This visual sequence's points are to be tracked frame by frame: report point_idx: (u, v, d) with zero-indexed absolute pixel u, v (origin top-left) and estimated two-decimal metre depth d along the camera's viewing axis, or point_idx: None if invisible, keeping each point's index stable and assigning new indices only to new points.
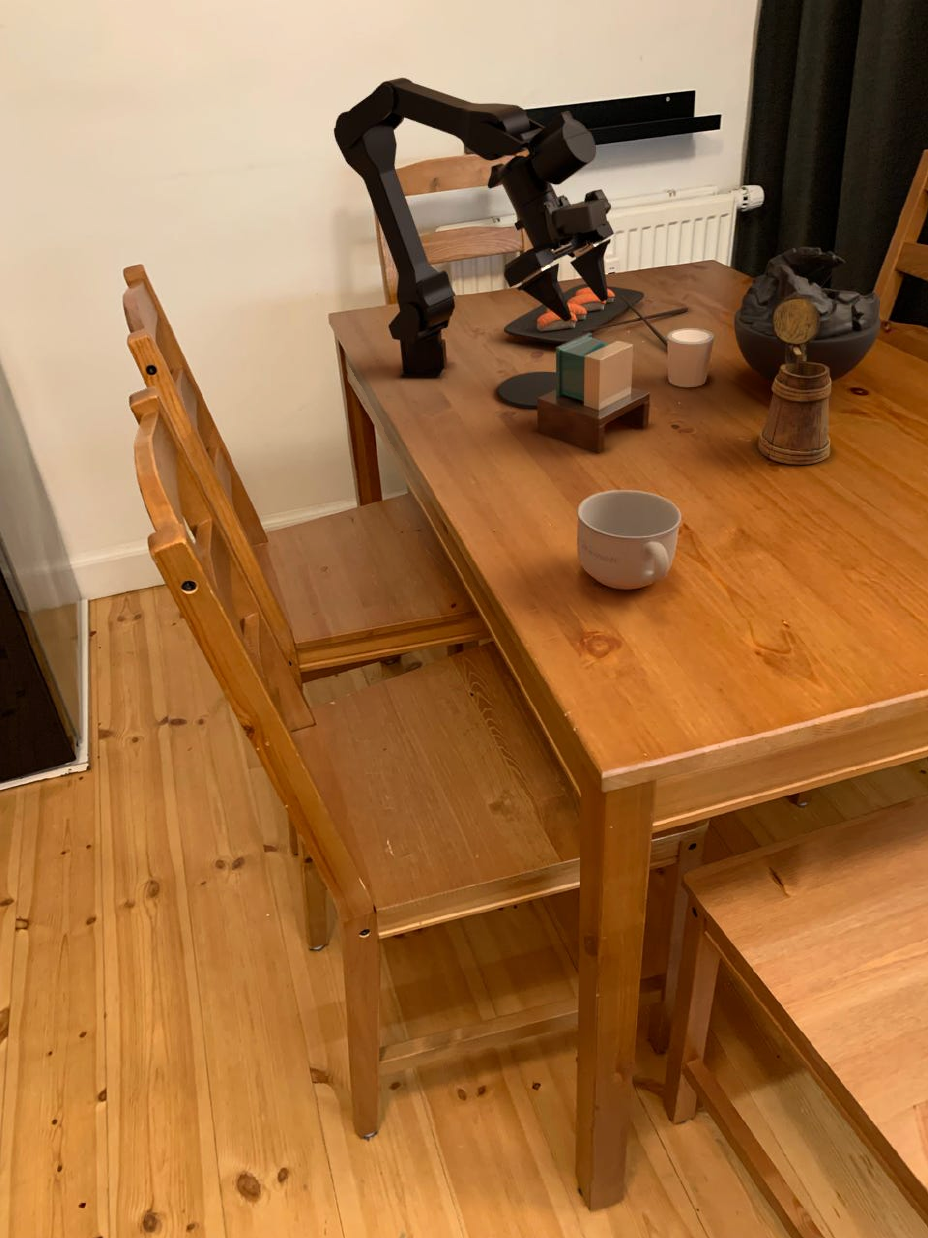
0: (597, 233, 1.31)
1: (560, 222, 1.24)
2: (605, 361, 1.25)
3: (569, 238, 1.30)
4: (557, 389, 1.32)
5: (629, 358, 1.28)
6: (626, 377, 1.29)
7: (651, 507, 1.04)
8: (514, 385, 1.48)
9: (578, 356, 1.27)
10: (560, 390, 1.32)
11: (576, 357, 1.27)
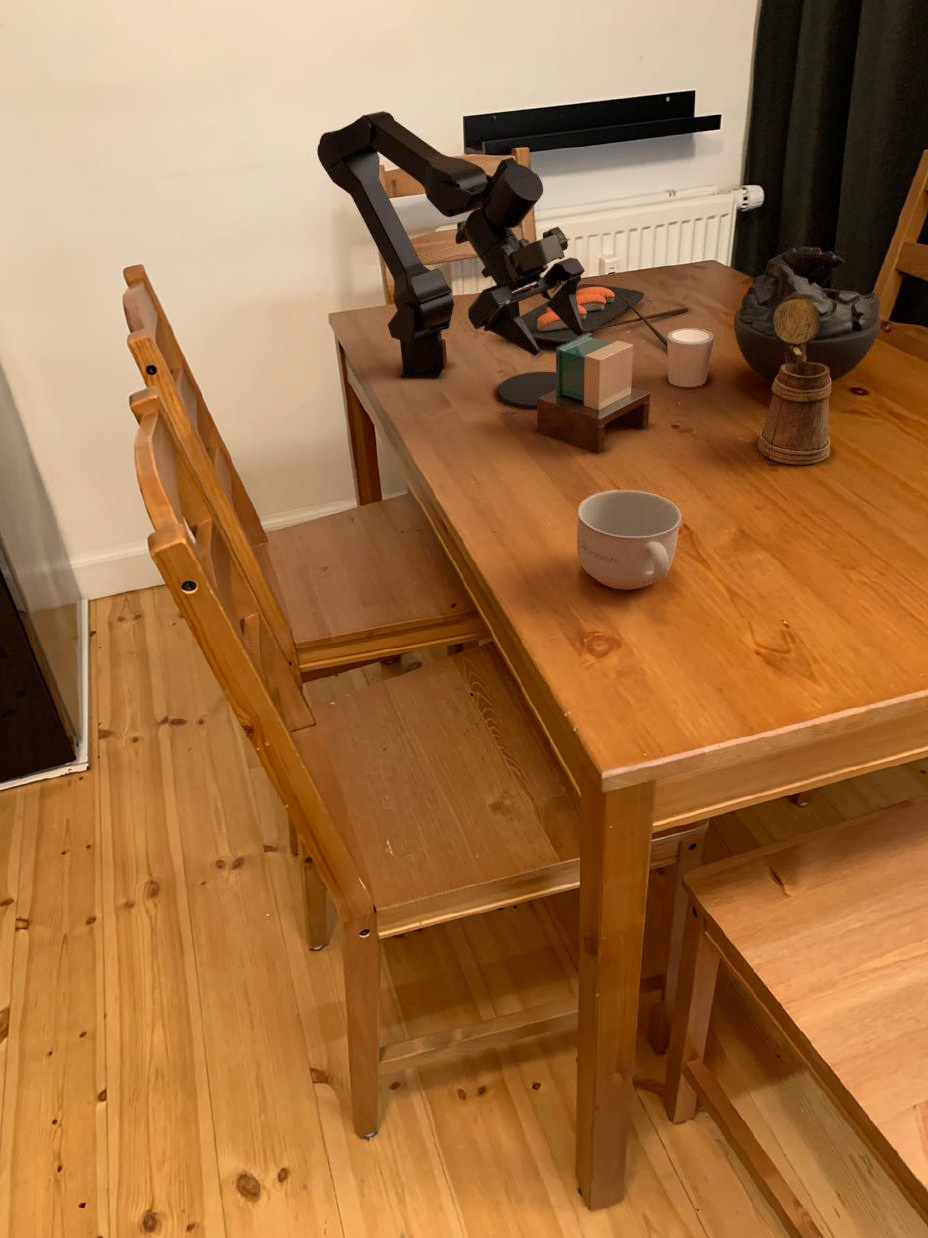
0: (564, 270, 1.33)
1: (516, 261, 1.28)
2: (605, 361, 1.25)
3: (536, 278, 1.33)
4: (557, 389, 1.32)
5: (629, 358, 1.28)
6: (626, 377, 1.29)
7: (651, 507, 1.04)
8: (514, 385, 1.48)
9: (578, 356, 1.27)
10: (560, 390, 1.32)
11: (576, 357, 1.27)
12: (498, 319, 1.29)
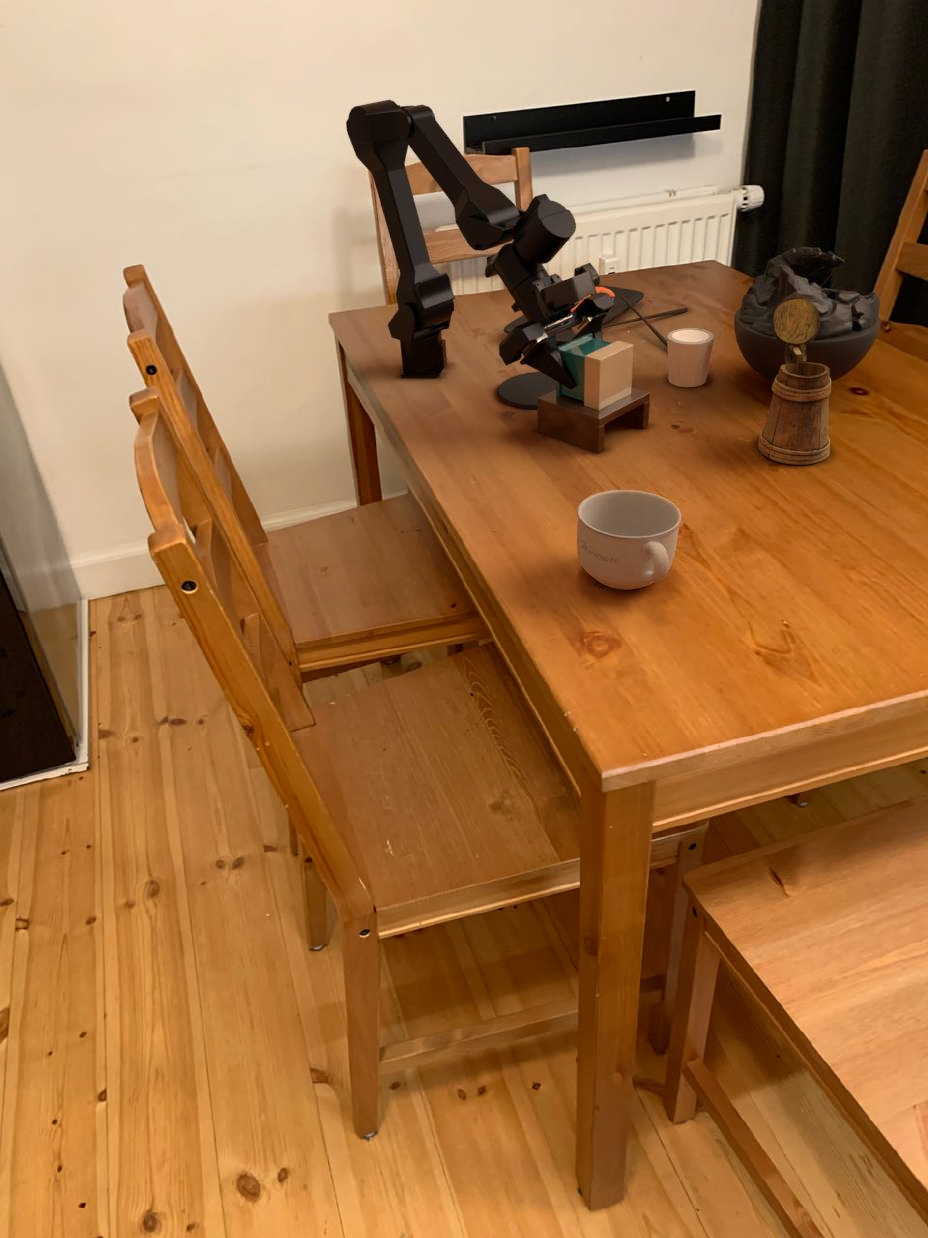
0: (595, 306, 1.32)
1: (548, 297, 1.26)
2: (605, 361, 1.25)
3: (566, 313, 1.31)
4: (557, 389, 1.32)
5: (629, 358, 1.28)
6: (627, 377, 1.29)
7: (651, 507, 1.04)
8: (514, 385, 1.48)
9: (578, 356, 1.27)
10: (560, 390, 1.32)
11: (576, 357, 1.27)
12: (535, 353, 1.28)
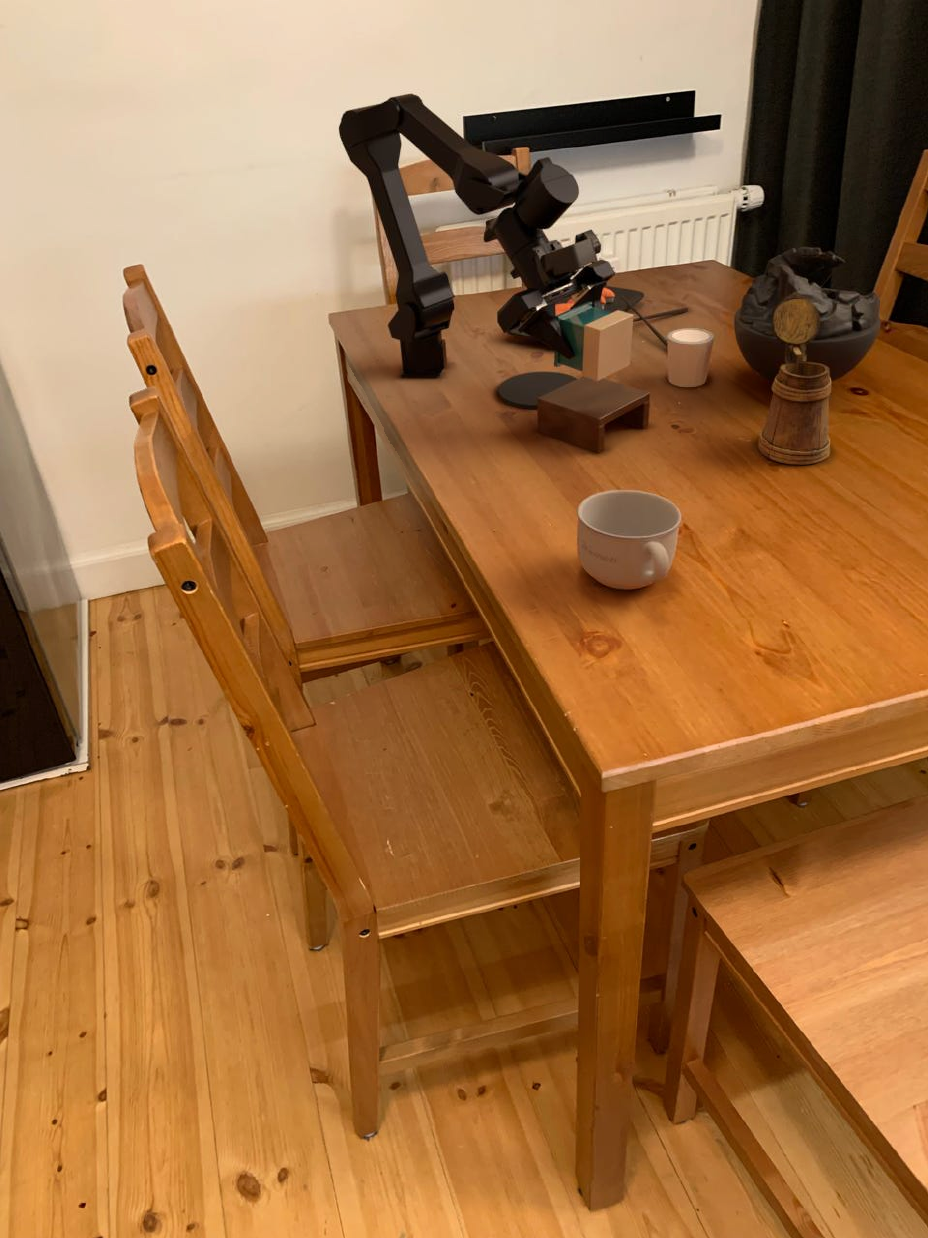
0: (595, 274, 1.30)
1: (548, 265, 1.24)
2: (605, 331, 1.23)
3: (566, 281, 1.29)
4: (555, 358, 1.30)
5: (629, 328, 1.26)
6: (626, 347, 1.28)
7: (651, 507, 1.04)
8: (514, 385, 1.48)
9: (578, 325, 1.25)
10: (558, 359, 1.30)
11: (575, 326, 1.25)
12: (533, 321, 1.26)
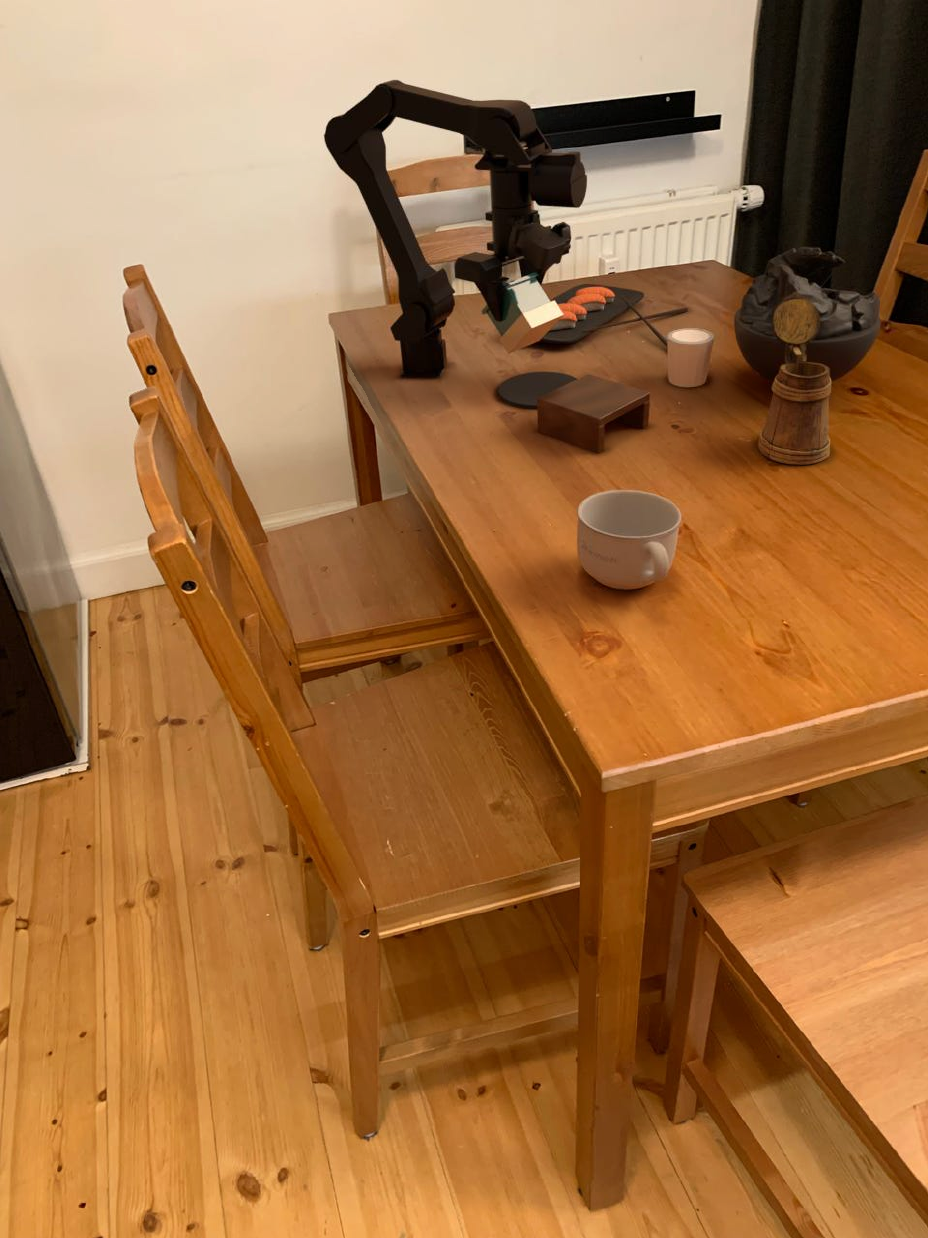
0: None
1: (520, 244, 1.33)
2: (535, 327, 1.38)
3: None
4: (485, 308, 1.42)
5: (554, 322, 1.42)
6: (544, 332, 1.44)
7: (651, 507, 1.04)
8: (514, 385, 1.48)
9: (517, 306, 1.38)
10: (487, 310, 1.43)
11: (515, 305, 1.38)
12: None
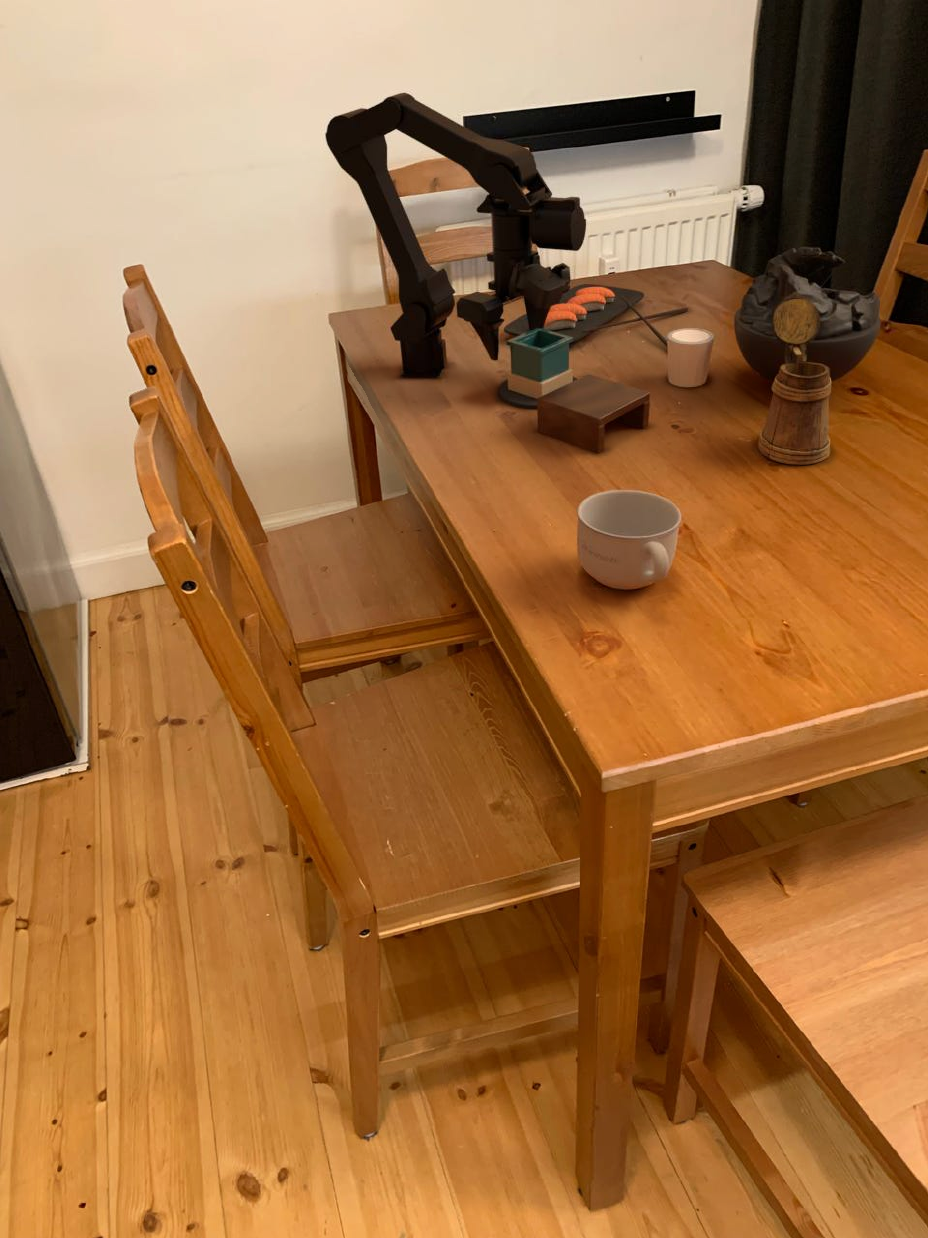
0: None
1: (521, 285, 1.36)
2: None
3: None
4: (511, 344, 1.42)
5: None
6: None
7: (651, 507, 1.04)
8: None
9: (540, 373, 1.41)
10: (512, 345, 1.42)
11: (539, 370, 1.41)
12: None
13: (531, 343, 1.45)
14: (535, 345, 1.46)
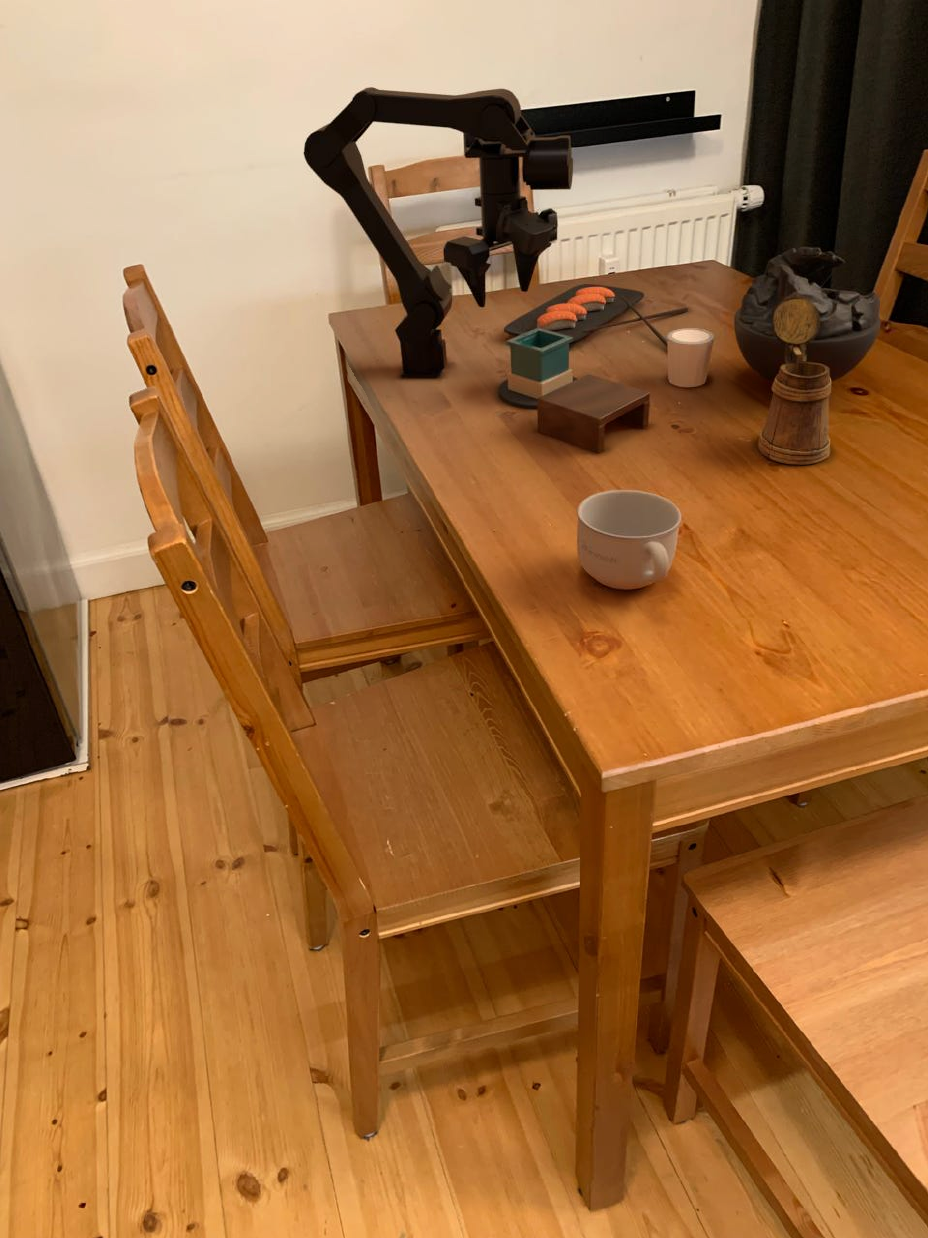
0: None
1: (507, 229, 1.36)
2: None
3: None
4: (511, 344, 1.42)
5: None
6: None
7: (651, 507, 1.04)
8: None
9: (540, 373, 1.41)
10: (512, 345, 1.42)
11: (539, 370, 1.41)
12: None
13: (531, 343, 1.45)
14: (535, 345, 1.46)
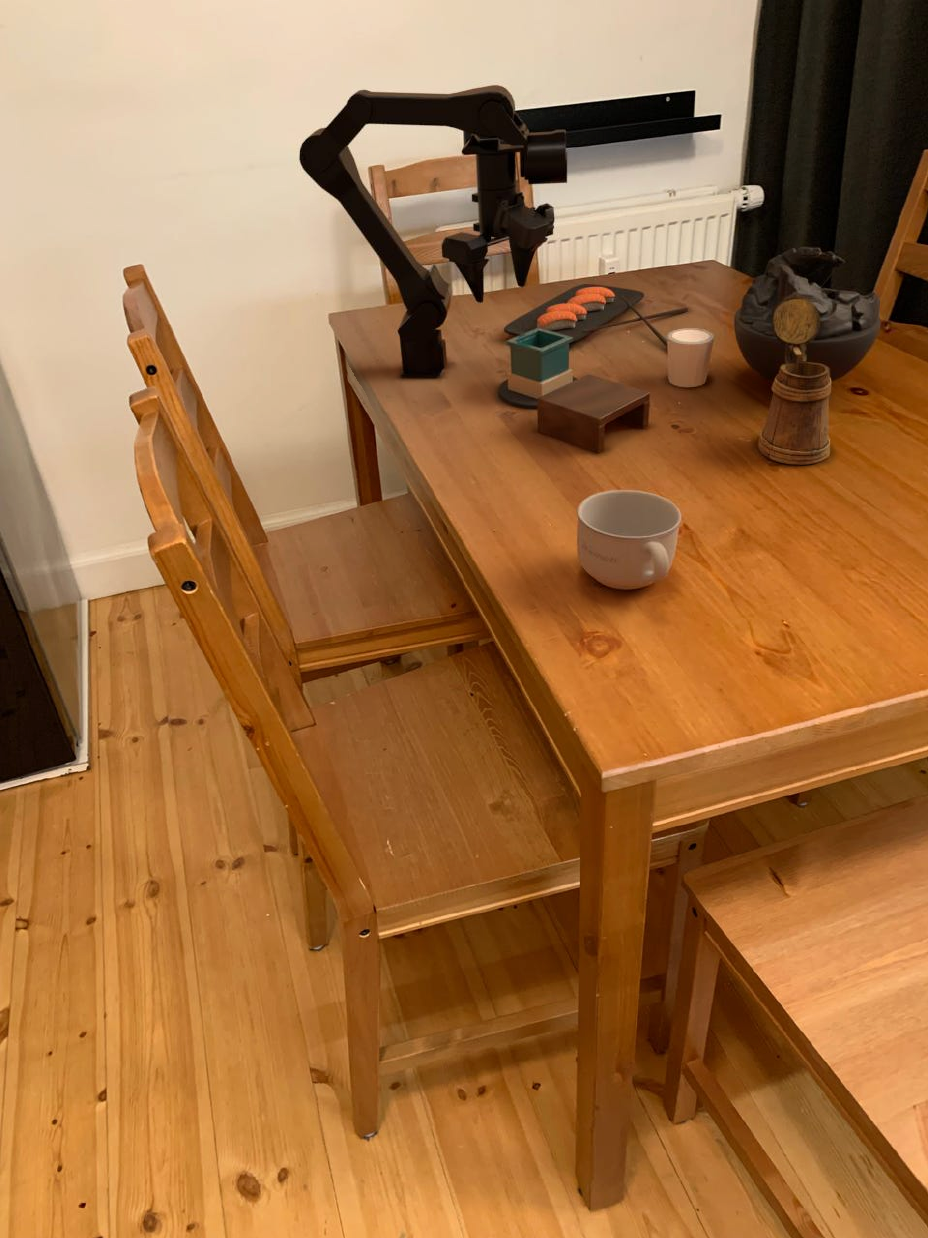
0: None
1: (505, 224, 1.37)
2: None
3: None
4: (511, 344, 1.42)
5: None
6: None
7: (651, 507, 1.04)
8: None
9: (540, 373, 1.41)
10: (512, 345, 1.42)
11: (539, 370, 1.41)
12: None
13: (531, 343, 1.45)
14: (535, 345, 1.46)
